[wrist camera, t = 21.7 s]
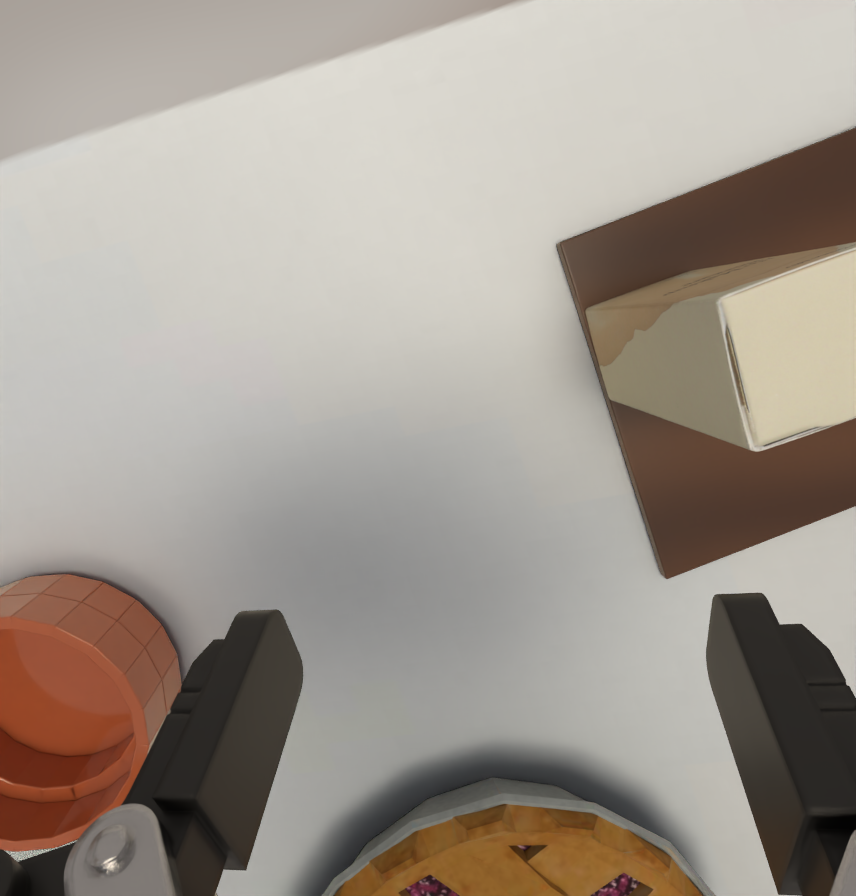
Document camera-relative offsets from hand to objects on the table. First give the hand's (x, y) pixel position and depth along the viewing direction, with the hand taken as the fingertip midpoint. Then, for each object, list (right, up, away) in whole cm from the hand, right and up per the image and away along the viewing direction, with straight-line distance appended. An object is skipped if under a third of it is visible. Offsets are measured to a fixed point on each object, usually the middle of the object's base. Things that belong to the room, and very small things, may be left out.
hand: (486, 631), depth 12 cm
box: (+8, +8, +15) cm, 19 cm away
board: (+15, +8, +16) cm, 23 cm away
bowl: (-17, -7, +16) cm, 25 cm away
